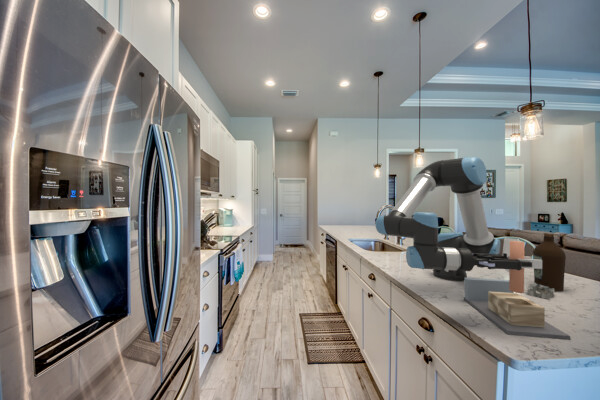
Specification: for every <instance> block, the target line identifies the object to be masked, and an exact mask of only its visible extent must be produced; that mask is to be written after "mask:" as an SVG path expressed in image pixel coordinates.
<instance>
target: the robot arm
mask: <svg viewBox="0 0 600 400" xmlns="http://www.w3.org/2000/svg"><path fill="white" fill-rule="evenodd" d="M487 173H488V171H487V167H486V165H485V162H484V161H483V160H482V159H481V158H480V157H479V156H470V157H469V156H465V157H461V158H459V157H458V158H451V159H442V160H437V161H434V162H432V163H430V164H428V165H426V166H425V167H424V168H422V169H421V170H420V171H419V172H418V173H417V174H416V175H415V177H414V178H413V183H411V185H410V187H408V189H407V190H406V192H405V193H404V194H403V195H402V196H401V198H400V199H399V200H398V202H396V204H395V206H394V207H393V208H392V209H391V211H390V212H389V213H388V214H387V215H385V214H384V215H380V216H378V217H377V218H376V220H375V229H376V231H377V233H379V234H380V235H385V236H388V237H389V236H391V237H394V236H395V237H401V238H409V239H413V242H412V243H413V245H410V246H407V248H406V252H405V258H406V259H405V260H406V263H407V265H408V266H409V268H411V269H420V270H433V271H432V273H433V276H434V277H435V278H439V279H442V280H446V281H452V282H453V281H454V282H464V278H468V274H467V272H471V271H472V270H473V269H474V267H475V266H476V267H477V268H487V269H489V270H505V269H516V270H518V271H520V270H522V268H524V269H533V270H534V269H542V260H537V259H533V256H527V255H526V256H525V255H524V259H516V260H515V259H510V256H508V257H507V254H506V253H503V252H502V253H503V255H502V254H500V252H501V240H500V239H498V238H495V237H494V234H493V233H492V232H490V231H489V228H488V224H487V218H486V214H485V210H484V205H483V198H482V196H481V189H482V188H483V187H484V185H485V184H486V182H487V179H488V174H487ZM438 187H450V191H451V192H452V193H453V194H456V198H457V199H456V200H457V202H458V207H459V209H460V214H461V218H462V222H463V226H464V230H465V234H464V233H463V232H458V231H457V232H455V231H454V232H453V231H452V232H441V233H439V223H438V222H439V221H438V214H436V212H430V211H429V212H425V211H423V212H422V211H421V212H420V211H418V212H417V209H418V208H419V207H420V205H421V204H422V202H423V201H424V200H425V199H426V197H427V195H428V194H429V193H430V192H433V191H434V190H435V189H436V188H438Z"/></svg>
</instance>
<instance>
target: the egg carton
mask: <svg viewBox="0 0 600 400" xmlns="http://www.w3.org/2000/svg"><path fill="white" fill-rule="evenodd" d="M525 287H526V290H527V293H526V294H527V295H529V296H530V297H539V298H541V299H543V300H551V299H550V298H552V297H553V296H555V295H554V292H556V291H555V290H554V288H552V289H550V288H549V287H548V286H547V287H546V286H543V285H538V284H536V283H534V282H532V283H531V284H529V285H526V286H525Z"/></svg>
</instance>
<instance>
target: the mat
mask: <svg viewBox="0 0 600 400" xmlns="http://www.w3.org/2000/svg"><path fill="white" fill-rule="evenodd" d="M463 301H464V302H465V303H467V304H468V305H470V306H471V307H472V308H474V309H475V310H476V311H478V312H479V314H481V315H483V316H484V317H485V318H486V319H487V320H489V321H490V322H491V323H492V324H494V325H495V326H496V327H497V328H499V329H500V330H502V331H503V332H504V333H505V334H507V335H513V336H524V337H525V336H526V337H536V338H547V339H559V340H571V336H570V335H569V334H568V333H566V332H564V331H562V330H561V329H559V328H557V327H556V326H554V325H552V324H550V323H549V322H547V321H545V327H532V326H520V325H511V324H510V323H508V322H507V321H505V320H504V319H503V318H501V317H500V316H498V315H497V314H496V313H494V312H493V311H491V310H490V309H489V308H488V301H477V300H467V299H466V298H464V297H463Z"/></svg>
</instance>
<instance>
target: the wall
mask: <svg viewBox="0 0 600 400" xmlns="http://www.w3.org/2000/svg"><path fill="white" fill-rule="evenodd" d="M463 282H464V283H463V284H464V286H463V287H464V289H463V292H464V293H463V295H464V297H463V299H464V298H466V299H467V300H477V301H488V292H505V293H515V292H512V291H510V290H509V279H501V278H499V279H498V278H483V277H481V278H480V277H479V278H478V277H467V278H464V281H463Z"/></svg>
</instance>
